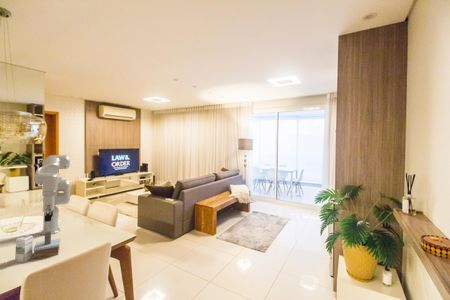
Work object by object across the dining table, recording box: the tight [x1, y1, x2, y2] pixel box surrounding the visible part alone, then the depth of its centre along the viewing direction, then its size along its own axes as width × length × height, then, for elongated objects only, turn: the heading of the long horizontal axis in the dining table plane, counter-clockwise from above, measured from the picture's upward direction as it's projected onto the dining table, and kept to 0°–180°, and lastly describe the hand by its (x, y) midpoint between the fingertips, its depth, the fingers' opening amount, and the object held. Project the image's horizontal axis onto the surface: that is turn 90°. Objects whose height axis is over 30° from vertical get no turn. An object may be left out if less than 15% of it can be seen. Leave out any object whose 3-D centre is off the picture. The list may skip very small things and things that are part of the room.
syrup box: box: [14, 235, 34, 263], centre depth 131 cm, size 6×6×14 cm
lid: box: [32, 230, 61, 252], centre depth 139 cm, size 11×13×10 cm
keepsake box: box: [33, 244, 61, 260], centre depth 139 cm, size 10×12×6 cm
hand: (48, 219), depth 138 cm, fingers open, 9 cm apart
